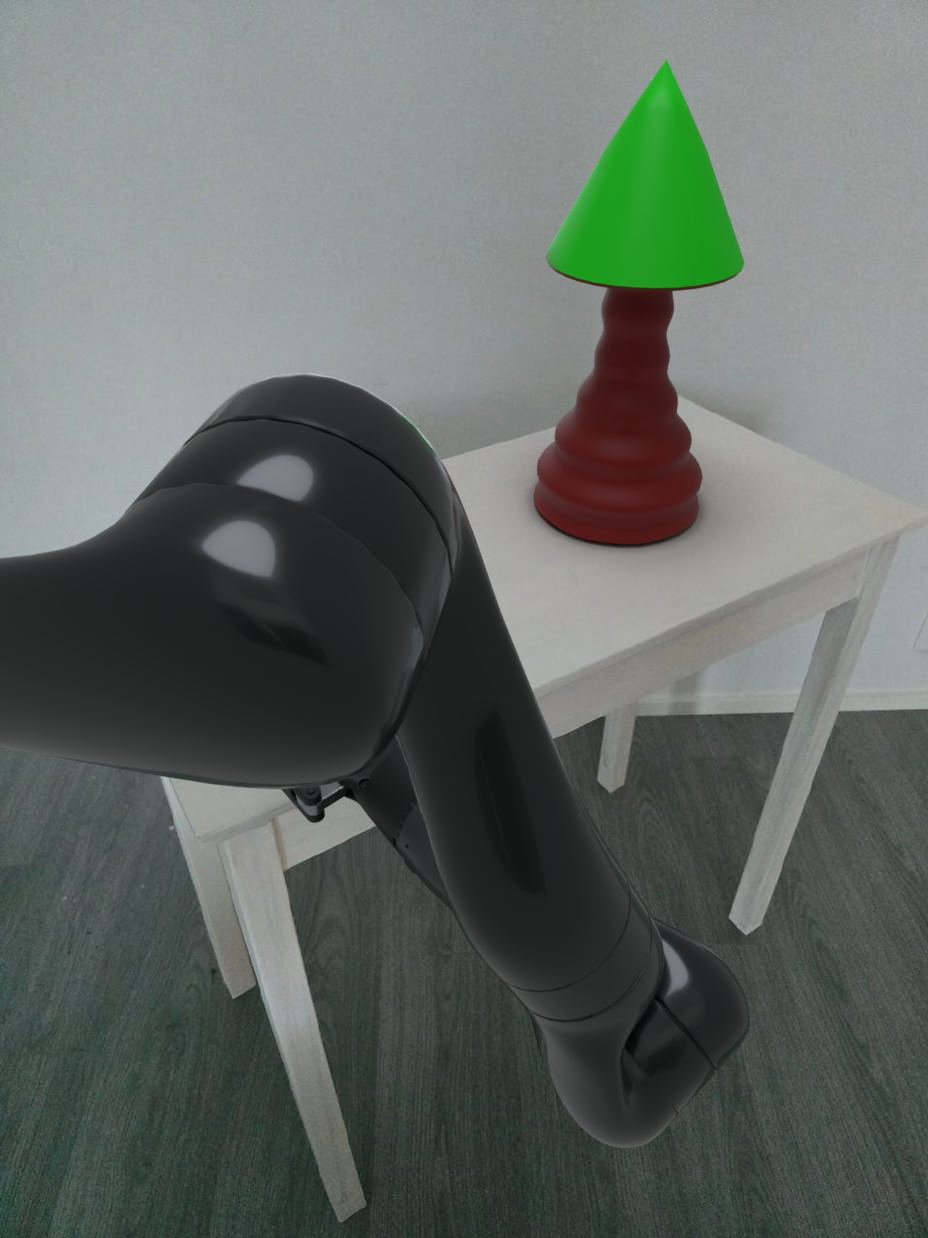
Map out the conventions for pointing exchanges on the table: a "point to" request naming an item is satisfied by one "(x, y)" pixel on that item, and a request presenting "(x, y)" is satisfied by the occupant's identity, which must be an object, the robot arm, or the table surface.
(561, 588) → the table surface
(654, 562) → the table surface
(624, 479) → the table lamp
